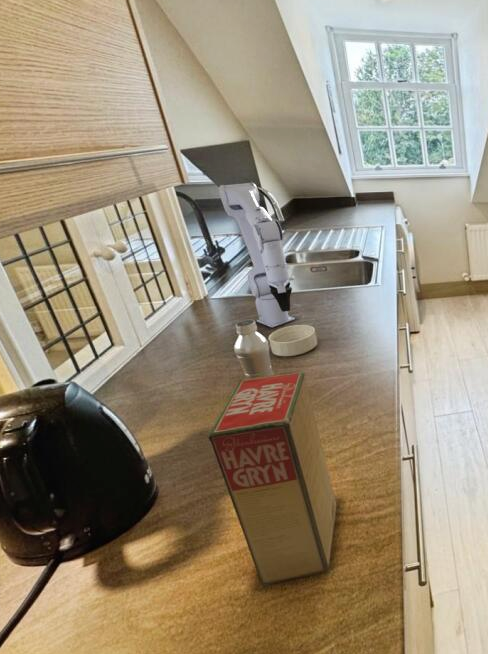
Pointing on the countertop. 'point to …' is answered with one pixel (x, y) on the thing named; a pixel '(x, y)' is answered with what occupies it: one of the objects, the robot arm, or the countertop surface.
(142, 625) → the countertop surface
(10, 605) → the countertop surface
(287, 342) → the bowl
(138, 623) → the countertop surface
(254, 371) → the plastic bottle
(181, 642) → the countertop surface
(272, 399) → the food packaging
